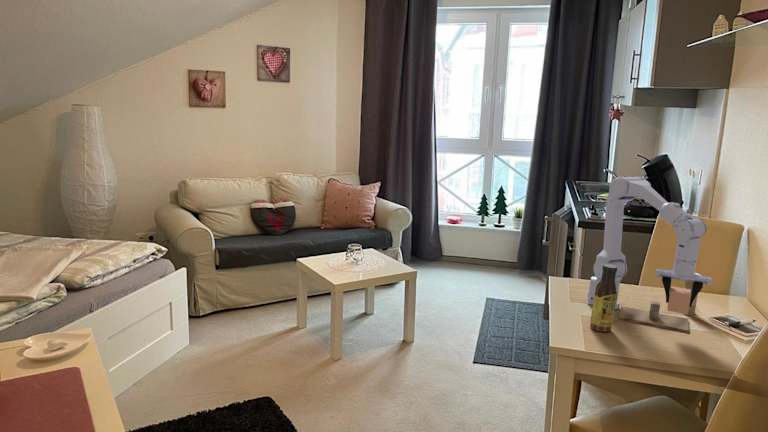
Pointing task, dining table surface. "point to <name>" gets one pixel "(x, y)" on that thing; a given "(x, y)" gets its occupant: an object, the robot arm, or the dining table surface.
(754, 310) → the dining table surface
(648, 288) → the dining table surface
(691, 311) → the sprinkles bottle
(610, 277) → the sauce bottle
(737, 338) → the dining table surface
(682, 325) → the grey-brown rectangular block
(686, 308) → the pink block
